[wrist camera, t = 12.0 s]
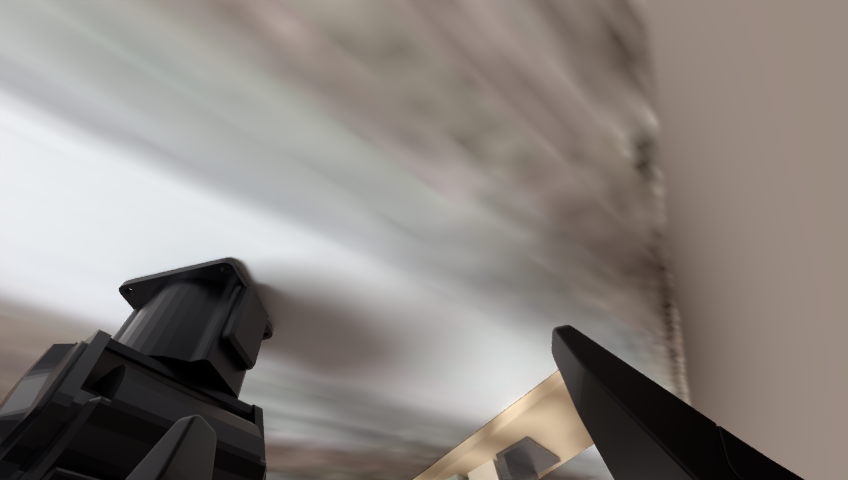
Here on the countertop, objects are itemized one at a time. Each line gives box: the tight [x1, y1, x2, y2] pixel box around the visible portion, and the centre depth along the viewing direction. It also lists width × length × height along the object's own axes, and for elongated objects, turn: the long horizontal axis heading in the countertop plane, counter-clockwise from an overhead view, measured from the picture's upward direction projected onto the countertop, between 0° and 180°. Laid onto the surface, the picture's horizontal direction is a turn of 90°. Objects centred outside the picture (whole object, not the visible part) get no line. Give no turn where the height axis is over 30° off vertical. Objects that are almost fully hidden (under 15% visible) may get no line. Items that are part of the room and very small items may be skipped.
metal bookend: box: [496, 436, 561, 480], centre depth 36 cm, size 7×4×3 cm, turn 40°
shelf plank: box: [413, 370, 594, 480], centre depth 38 cm, size 23×12×1 cm, turn 139°
